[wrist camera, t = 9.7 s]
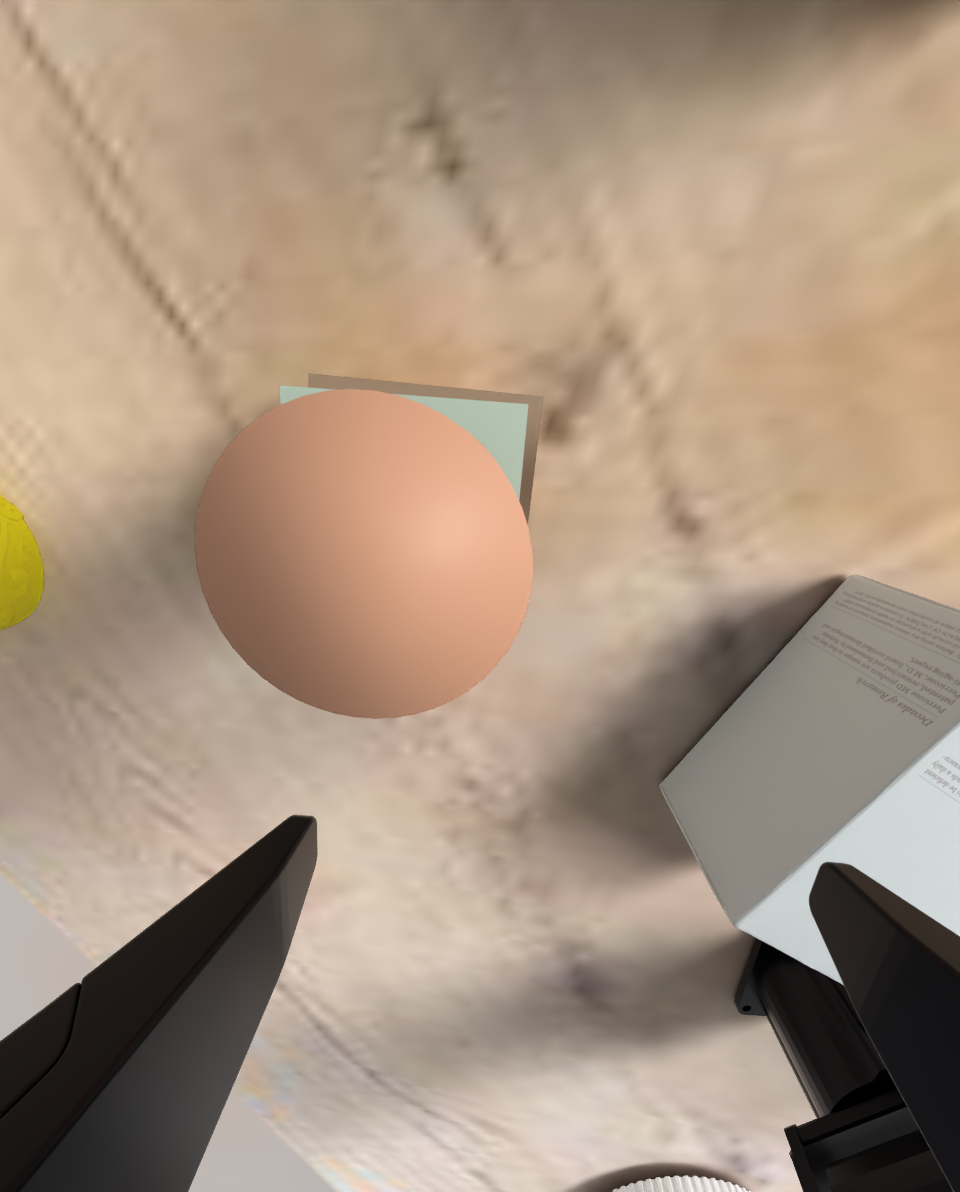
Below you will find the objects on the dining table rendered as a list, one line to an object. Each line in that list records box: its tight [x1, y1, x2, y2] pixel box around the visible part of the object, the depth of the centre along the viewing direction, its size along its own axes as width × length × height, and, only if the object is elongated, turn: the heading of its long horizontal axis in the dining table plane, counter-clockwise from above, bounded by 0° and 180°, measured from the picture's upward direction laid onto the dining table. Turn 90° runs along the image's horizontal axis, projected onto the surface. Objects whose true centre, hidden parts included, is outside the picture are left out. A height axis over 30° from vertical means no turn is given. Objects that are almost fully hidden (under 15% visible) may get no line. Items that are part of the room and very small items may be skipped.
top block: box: [280, 385, 528, 500], centre depth 13 cm, size 6×6×4 cm
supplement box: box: [659, 575, 960, 985], centre depth 18 cm, size 7×7×13 cm
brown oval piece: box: [195, 389, 533, 718], centre depth 9 cm, size 5×5×4 cm
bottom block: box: [309, 374, 543, 525], centre depth 17 cm, size 7×7×4 cm
